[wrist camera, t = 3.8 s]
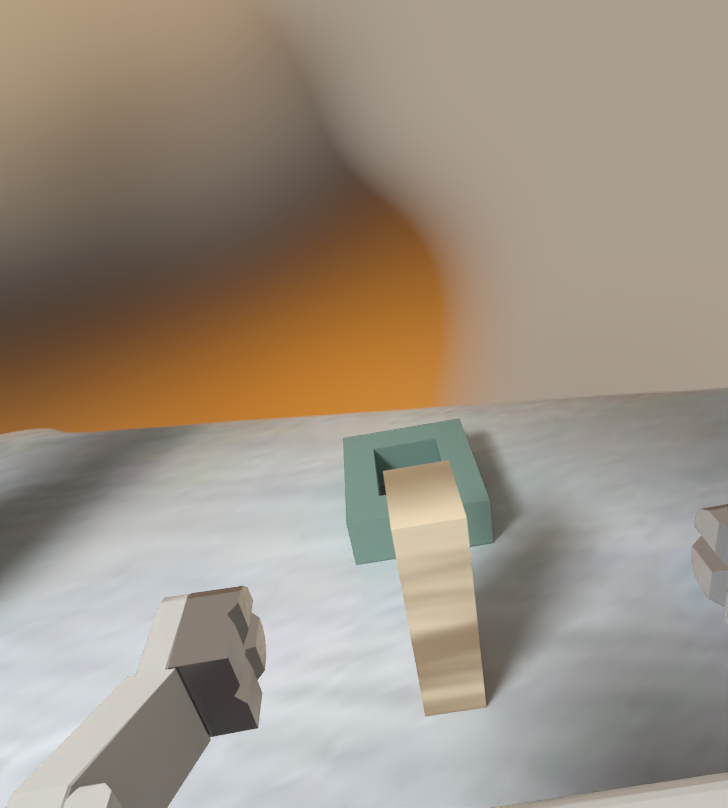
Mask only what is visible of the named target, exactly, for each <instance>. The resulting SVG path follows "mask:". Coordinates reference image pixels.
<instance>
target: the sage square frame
mask: <svg viewBox="0 0 728 808" xmlns="http://www.w3.org/2000/svg"><path fill="white" fill-rule="evenodd" d="M343 447H344V472H345V497H346V522H347V528H348V532H349V536H350V541H351V545H352V549H353V554H354V558H355V562H356V565H357V564H364V563H370V562H376V561H382V560H388V559H395V558H396V554H395V549H394V543H393V538H392V533H391V526H390V519H389V512H388V504H387V497H386V495H382V496H381V488H380V487H383V486H385V482H384V475H383V471H386V470H392V469H398V468H404V467H410V466H416V465H422V464H428V463H434V462H440V461H446V460H449V462H450V465H451V469H452V472H453V475H454V478H455V482H456V485H457V488H458V491H459V494H460V498H461V501H462V504H463V507H464V511H465V514H466V517H467V525H468V535H469V544H470V546H476V545H482V544H488V543H493V530H492V517H491V505H490V498H489V496H488V493H487V491H486V488H485V485H484V483H483V480H482V477H481V475H480V472H479V469H478V467H477V464H476V461H475V459H474V456H473V453H472V451H471V448H470V445H469V443H468V440H467V438H466V435H465V432H464V430H463V427H462V424H461V422H460V419H454V420H448V421H442V422H436V423H430V424H424V425H418V426H412V427H406V428H400V429H394V430H388V431H383V432H377V433H371V434H365V435H359V436H353V437H347V438H343Z"/></svg>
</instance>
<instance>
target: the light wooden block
mask: <svg viewBox="0 0 728 808" xmlns="http://www.w3.org/2000/svg"><path fill="white" fill-rule="evenodd" d="M383 475H384V482H385V490H386V497H387V504H388V512H389V519H390V526H391V533H392V538H393V543H394V549H395V554H396V560H397V565H398V570H399V576H400V581H401V587H402V592H403V597H404V603H405V608H406V614H407V619H408V624H409V630H410V635H411V640H412V646H413V651H414V657H415V662H416V667H417V673H418V678H419V684H420V689H421V694H422V700H423V705H424V711H425V716H430V715H437V714H444V713H450V712H457V711H464V710H470V709H477V708H483V707H486V698H485V689H484V679H483V669H482V660H481V650H480V640H479V631H478V621H477V612H476V602H475V592H474V583H473V573H472V564H471V554H470V544H469V535H468V525H467V517H466V514H465V511H464V507H463V504H462V501H461V498H460V494H459V491H458V488H457V485H456V482H455V478H454V475H453V472H452V469H451V465H450V462H449V460H446V461H440V462H434V463H428V464H422V465H416V466H410V467H404V468H398V469H392V470H386V471H383Z"/></svg>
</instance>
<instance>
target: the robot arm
mask: <svg viewBox="0 0 728 808" xmlns="http://www.w3.org/2000/svg"><path fill="white" fill-rule="evenodd" d="M694 527H695V528H696V529H697V531H698V532H699V533H700V534H701V537H700V538H699V539H698V540H697V541H696V542H695V543H694V545H693V546H692V558H691V561H692V565H693V570H694V574H695V577H696V579H697V581H698V583H699V585H700V587H701V589H702V590H703V591H704V593H705V594H706V596H707V597H708V599H710V600H712V601H714V602H716V603H718V604H720V605H721V606H723V607H725V611H724V618H723V619H724V621H725V622H726V623H727V625H728V504H725V505H720V506H714V507H708V508H703V509H700V510H699V511H698V513H697V515H696V519H695V526H694ZM252 603H253V599H252V597H251V595H250V592H249V590H248V587H245V586H239V587H232V588H225V589H218V590H211V591H204V592H197V593H191V594H188V595H181V596H174V597H166V598H164V599H163V600H162V601H161V603H160V604H159V606H158V609H157V612H156V615H155V618H154V621H153V624H152V627H151V630H150V633H149V636H148V639H147V642H146V645H145V648H144V651H143V654H142V657H141V660H140V663H139V666H138V669H137V672H136V675H131V676H127V677H126V678H125V679H124V680H123V681H122V682H121V683H120V684H119V685H118V686H117V687H116V688H115V690H114V691H113V692H112V693H111V694H110V695H109V696H108V697H107V698H106V699H105V700H104V701H103V702H102V703H101V704H100V705H99V706H98V707H97V708H96V709H95V710H94V711H93V712H92V713H91V714H90V715H89V716H88V717H87V718H86V719H85V720H84V721H83V722H82V723H81V724H80V725H79V726H78V727H77V728H76V729H75V730H74V731H73V732H72V733H71V734H70V735H69V736H68V737H67V738H66V739H65V741H64V742H63V743H62V744H61V745H60V746H59V747H58V748H57V749H56V750H55V751H54V752H53V753H52V754H51V755H50V756H49V757H48V758H47V759H46V760H45V761H44V762H43V763H42V764H41V765H40V766H39V767H38V768H37V769H36V770H35V771H34V772H33V773H32V774H31V775H30V776H29V777H28V778H27V779H26V780H25V781H24V782H23V783H22V784H21V785H20V786H19V787H18V788H17V789H16V791H15V792H14V793H13V794H12V795H11V796H10V799H9V801H8V803H7V805H6V808H167V807H168V805H169V804H170V802H171V801H172V799H173V798H174V796H175V795H176V793H177V791H178V790H179V788H180V787H181V785H182V784H183V782H184V781H185V779H186V778H187V776H188V774H189V773H190V771H191V770H192V768H193V767H194V765H195V764H196V762H197V761H198V759H199V757H200V756H201V754H202V753H203V751H204V750H205V748H206V747H207V745H208V744H209V742H210V737H214V736H219V735H224V734H230V733H235V732H240V731H245V730H251V729H256V728H258V725H259V716H260V708H261V699H262V691H261V688H260V686H259V683H258V681H257V680H258V679H259V677H260V676H261V675H262V673H263V672H264V671H265V662H266V645H265V636H264V631H263V627H262V624H261V621H260V618H259V617H258V616H256V615H254V614H253V613H251V610H252ZM492 808H728V772H725V773H718V774H712V775H705V776H698V777H692V778H685V779H678V780H672V781H665V782H659V783H652V784H645V785H639V786H632V787H625V788H619V789H612V790H606V791H599V792H592V793H586V794H579V795H572V796H566V797H559V798H552V799H546V800H539V801H532V802H526V803H519V804H512V805H506V806H499V807H492Z"/></svg>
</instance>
